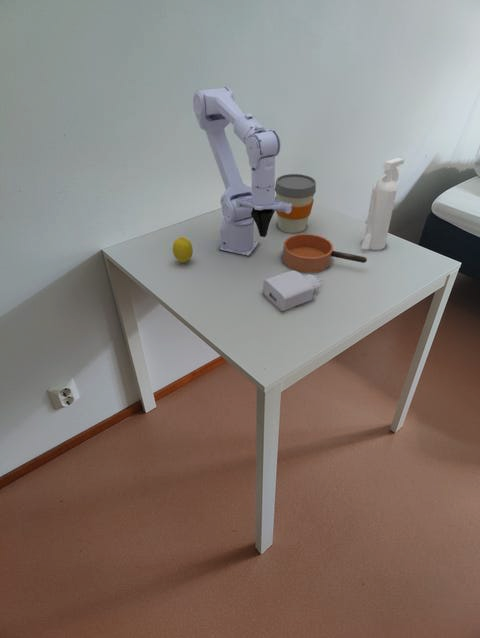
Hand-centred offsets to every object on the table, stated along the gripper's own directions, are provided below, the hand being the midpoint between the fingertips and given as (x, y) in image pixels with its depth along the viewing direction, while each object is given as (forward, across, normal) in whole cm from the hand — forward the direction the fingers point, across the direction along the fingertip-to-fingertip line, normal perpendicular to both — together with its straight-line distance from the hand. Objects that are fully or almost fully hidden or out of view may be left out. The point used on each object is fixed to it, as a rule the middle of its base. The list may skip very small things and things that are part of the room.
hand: (263, 235), depth 108 cm
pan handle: (+8, +21, +8) cm, 24 cm away
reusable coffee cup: (+9, 0, +26) cm, 28 cm away
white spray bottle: (+10, +26, +23) cm, 37 cm away
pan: (+10, +10, +8) cm, 16 cm away
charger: (+11, +12, -9) cm, 19 cm away
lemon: (+9, -22, -7) cm, 24 cm away
